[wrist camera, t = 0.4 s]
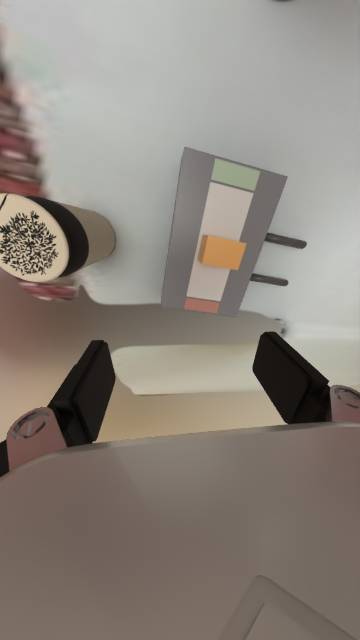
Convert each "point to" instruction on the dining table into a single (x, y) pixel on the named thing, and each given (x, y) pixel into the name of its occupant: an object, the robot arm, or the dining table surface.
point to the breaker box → (219, 231)
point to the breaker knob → (221, 252)
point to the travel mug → (50, 237)
